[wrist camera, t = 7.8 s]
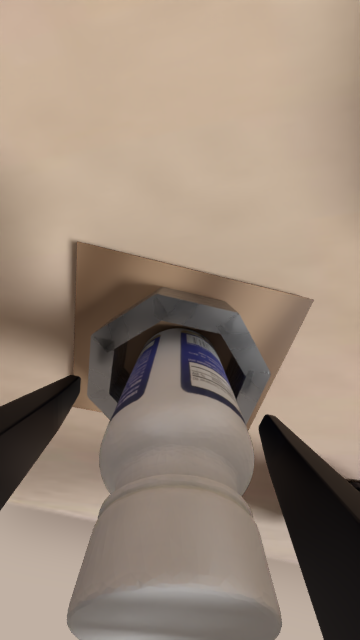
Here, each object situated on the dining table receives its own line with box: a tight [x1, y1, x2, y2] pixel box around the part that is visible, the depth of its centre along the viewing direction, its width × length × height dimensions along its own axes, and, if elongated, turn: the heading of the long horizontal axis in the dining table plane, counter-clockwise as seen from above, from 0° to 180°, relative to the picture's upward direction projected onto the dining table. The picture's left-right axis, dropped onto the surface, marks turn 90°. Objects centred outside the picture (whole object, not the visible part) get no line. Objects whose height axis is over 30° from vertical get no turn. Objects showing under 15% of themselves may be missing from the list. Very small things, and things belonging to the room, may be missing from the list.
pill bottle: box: [67, 328, 282, 640], centre depth 7 cm, size 5×5×9 cm
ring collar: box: [87, 287, 271, 424], centre depth 10 cm, size 9×9×2 cm
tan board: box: [72, 242, 314, 430], centre depth 12 cm, size 14×12×1 cm
